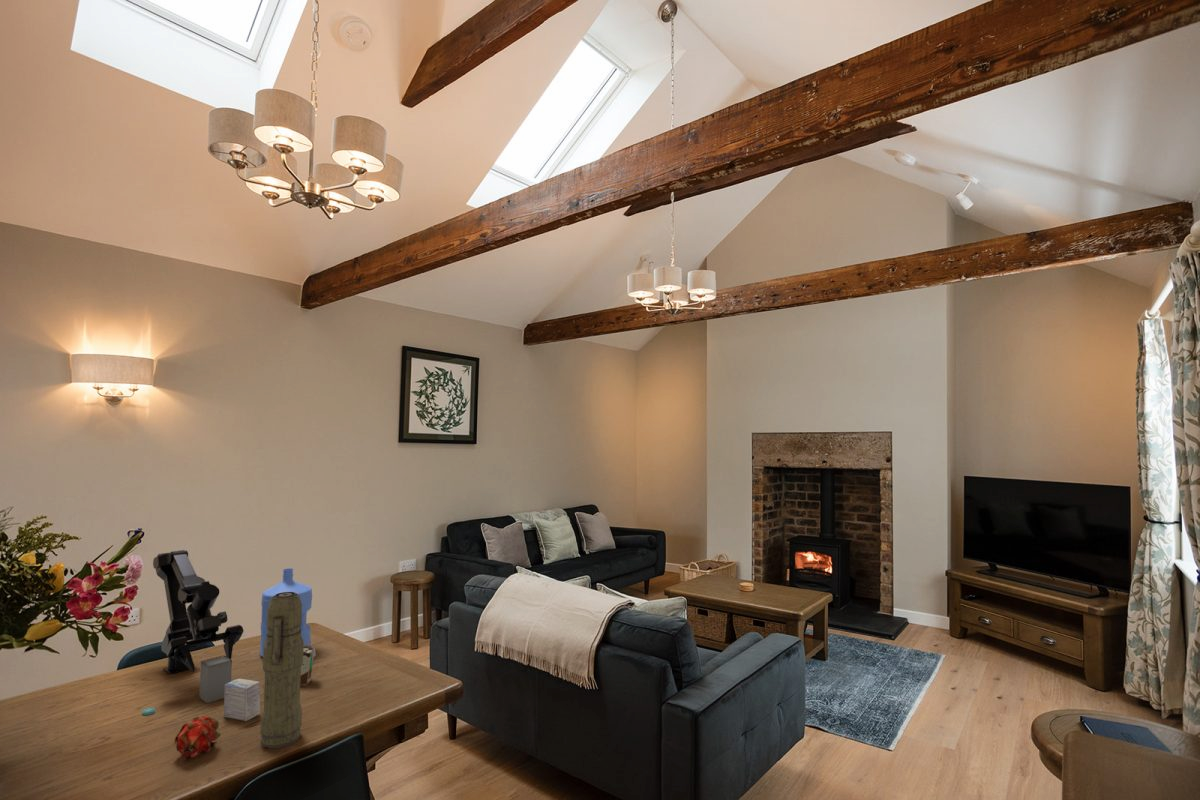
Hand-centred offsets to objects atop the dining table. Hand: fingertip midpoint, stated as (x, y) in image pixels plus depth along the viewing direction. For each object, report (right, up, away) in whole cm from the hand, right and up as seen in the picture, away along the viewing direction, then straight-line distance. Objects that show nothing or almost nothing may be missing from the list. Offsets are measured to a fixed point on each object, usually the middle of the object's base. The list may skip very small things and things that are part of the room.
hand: (212, 666), depth 176 cm
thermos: (+34, -6, -27) cm, 44 cm away
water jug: (+4, -10, +33) cm, 35 cm away
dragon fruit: (+18, -6, -34) cm, 39 cm away
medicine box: (+17, -7, -15) cm, 24 cm away
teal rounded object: (-9, -7, -13) cm, 17 cm away
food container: (+21, -8, +9) cm, 24 cm away
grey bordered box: (+2, -8, -3) cm, 8 cm away
